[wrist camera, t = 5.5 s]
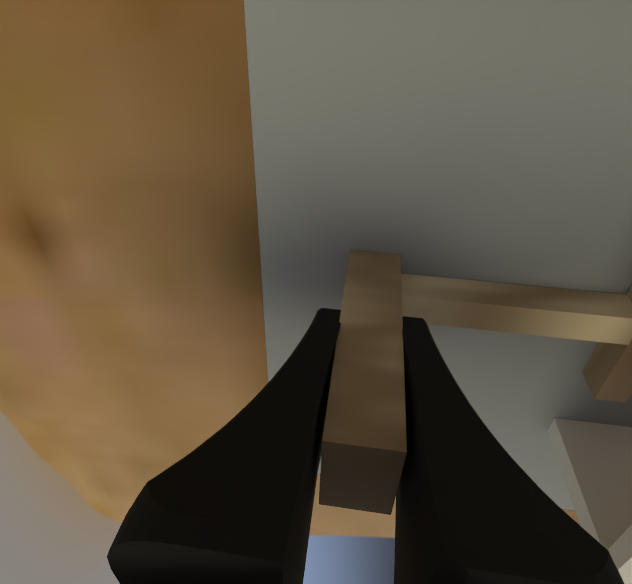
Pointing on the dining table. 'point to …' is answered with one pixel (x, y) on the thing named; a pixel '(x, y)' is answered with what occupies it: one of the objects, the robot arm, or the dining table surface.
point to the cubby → (459, 197)
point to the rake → (447, 310)
